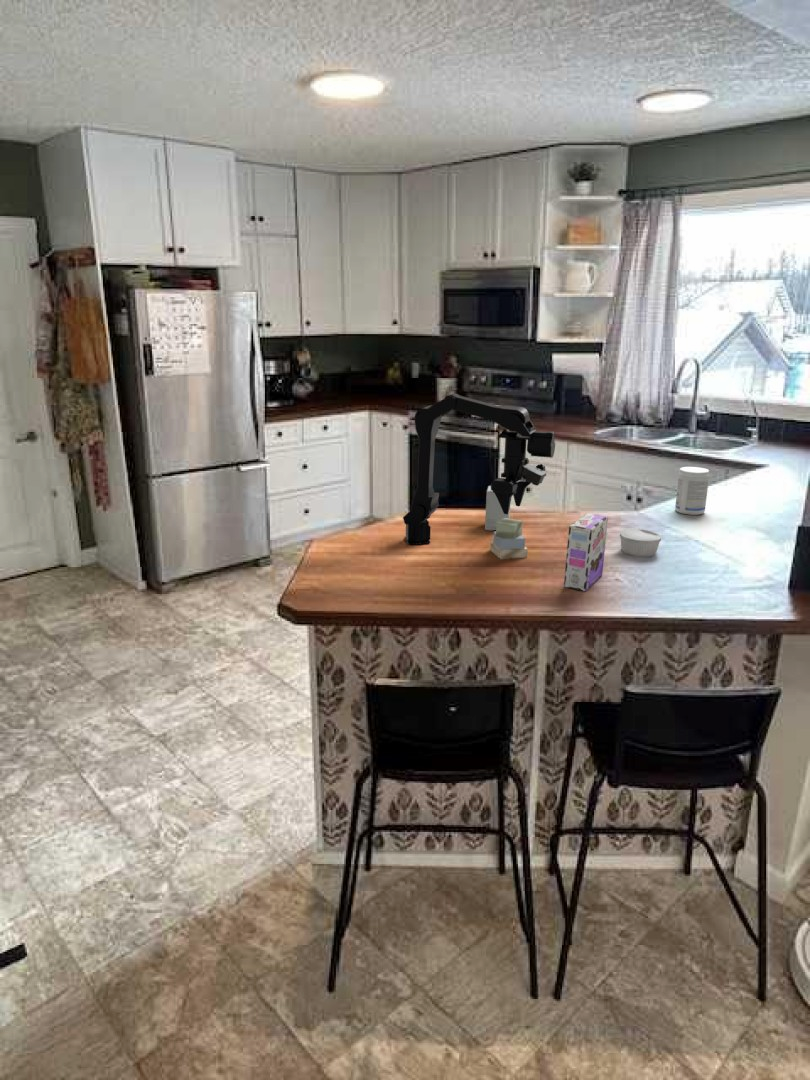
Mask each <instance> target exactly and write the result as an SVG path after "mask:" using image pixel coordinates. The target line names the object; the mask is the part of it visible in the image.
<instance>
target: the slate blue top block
mask: <svg viewBox="0 0 810 1080" xmlns="http://www.w3.org/2000/svg"><path fill="white" fill-rule="evenodd" d="M492 542H494V543H495V544H496V545H497V546H498V548H499V549H500V550H504V549H525V547H526V537H524V536H523V534H522V535H520V536H519V537H517V538H516V539H515V540H513V539H508V538H502V537H497V536H496V531H493V541H492Z"/></svg>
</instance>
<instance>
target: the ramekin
mask: <svg viewBox="0 0 810 1080" xmlns="http://www.w3.org/2000/svg"><path fill="white" fill-rule="evenodd" d="M619 537H620V548H621V551H622V552H624V553H625V554H627V555H629V556H634V557H640V558H643V557H644V558H645V557H652V556H654V555H656V553H657V551H658V548H659V545H660V542H661V541H662V535H660V534H659V533H657V532H654V531H651V530H648V529H640V528H628V529H624V530H622V531H620V533H619Z"/></svg>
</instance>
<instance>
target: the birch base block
mask: <svg viewBox="0 0 810 1080" xmlns="http://www.w3.org/2000/svg"><path fill="white" fill-rule="evenodd" d="M489 548H490V549H489V551H490V552H492V553H493V555H495V556H496V557H497V558H498V559H499V558H500V559H499V560H509V559H510V558H512V559H522V558H528V553H529V552H528V551H529V549H528V548H527V546H525V549H504V550H500V549H499V548H498V546H497V545H496V544H495V543H494V542H493V541H490V547H489Z"/></svg>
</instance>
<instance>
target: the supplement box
mask: <svg viewBox="0 0 810 1080" xmlns="http://www.w3.org/2000/svg"><path fill="white" fill-rule="evenodd" d="M485 503H486V504H485V517H484V518H485V519H484V530H485V531H493V530H496V525H497V522H499V521H500V520H502V519H503V518H508V519H511V518H510V515H511V507H510V508H509V512H508V514H504V513H503V510H502V508H501V506H500V503H499V501H498V499H497V497H496V495H495V493H493V491H492V490H491V485H488V486H487V489H486V499H485Z"/></svg>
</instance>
